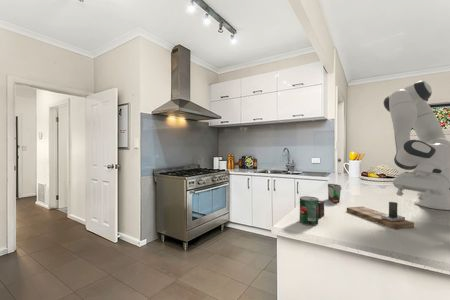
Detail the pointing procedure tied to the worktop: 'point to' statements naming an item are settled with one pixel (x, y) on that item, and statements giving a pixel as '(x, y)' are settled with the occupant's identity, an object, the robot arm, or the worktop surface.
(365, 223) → the worktop surface
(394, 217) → the slider
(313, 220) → the canned tomato
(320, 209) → the box
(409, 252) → the worktop surface
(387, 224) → the brown wooden board
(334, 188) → the food container
